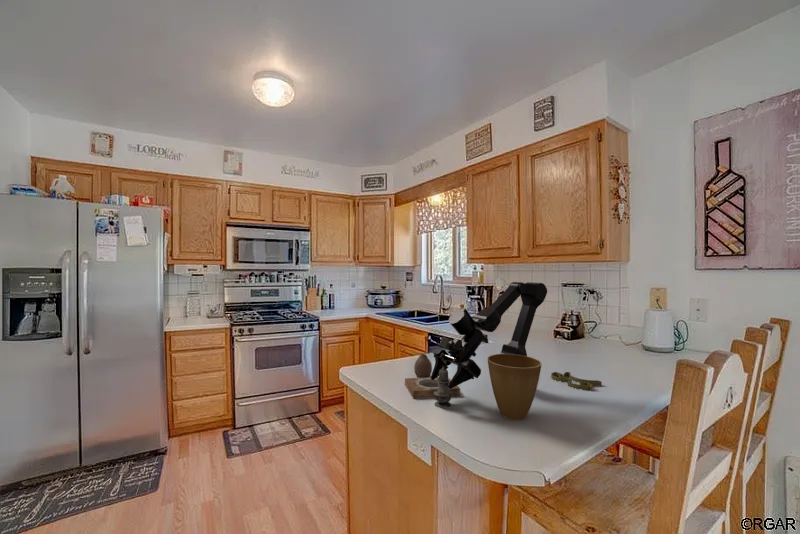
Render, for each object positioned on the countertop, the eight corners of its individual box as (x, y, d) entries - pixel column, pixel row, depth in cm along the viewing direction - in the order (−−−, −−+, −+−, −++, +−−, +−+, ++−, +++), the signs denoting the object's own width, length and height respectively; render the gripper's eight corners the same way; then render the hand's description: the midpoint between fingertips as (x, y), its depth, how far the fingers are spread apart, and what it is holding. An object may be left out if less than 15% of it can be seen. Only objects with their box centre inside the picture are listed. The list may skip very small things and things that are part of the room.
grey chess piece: (452, 409, 105) (452, 369, 105) (432, 407, 106) (433, 367, 106) (453, 402, 111) (453, 364, 111) (434, 400, 112) (435, 362, 112)
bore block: (447, 383, 129) (447, 376, 129) (459, 395, 116) (460, 388, 116) (404, 385, 126) (404, 378, 126) (413, 398, 113) (413, 390, 113)
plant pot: (476, 410, 104) (476, 356, 104) (511, 401, 112) (512, 351, 112) (515, 431, 91) (515, 369, 91) (552, 419, 99) (553, 362, 99)
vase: (432, 380, 133) (432, 357, 133) (414, 379, 133) (414, 356, 133) (431, 374, 140) (431, 352, 140) (413, 374, 140) (414, 352, 140)
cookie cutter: (607, 388, 127) (607, 383, 127) (587, 393, 121) (587, 388, 121) (563, 375, 143) (563, 370, 143) (543, 379, 137) (543, 374, 137)
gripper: (437, 323, 119) (409, 359, 114) (474, 333, 102) (442, 375, 97) (456, 345, 122) (429, 380, 117) (493, 357, 106) (464, 399, 101)
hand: (439, 383), depth 108 cm, fingers open, 9 cm apart
